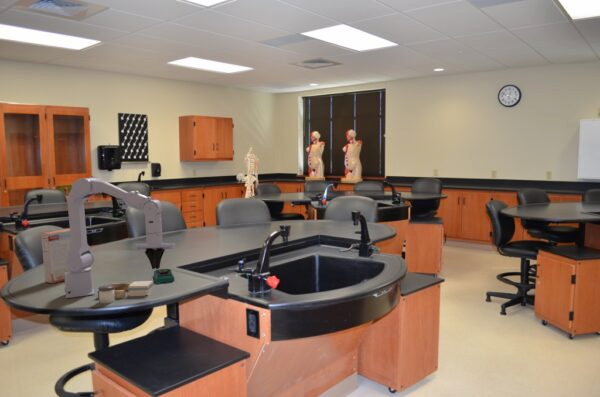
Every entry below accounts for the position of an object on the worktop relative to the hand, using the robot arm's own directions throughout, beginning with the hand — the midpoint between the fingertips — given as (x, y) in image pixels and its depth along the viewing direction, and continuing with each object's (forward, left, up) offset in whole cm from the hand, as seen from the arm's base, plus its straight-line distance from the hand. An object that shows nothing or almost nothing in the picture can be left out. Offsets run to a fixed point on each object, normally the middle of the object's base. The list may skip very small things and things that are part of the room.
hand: (155, 268), depth 173 cm
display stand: (-13, +7, -9) cm, 17 cm away
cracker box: (-32, +41, -10) cm, 53 cm away
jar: (-17, -2, -10) cm, 20 cm away
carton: (-5, +3, -10) cm, 11 cm away
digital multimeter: (+6, +21, -10) cm, 24 cm away
